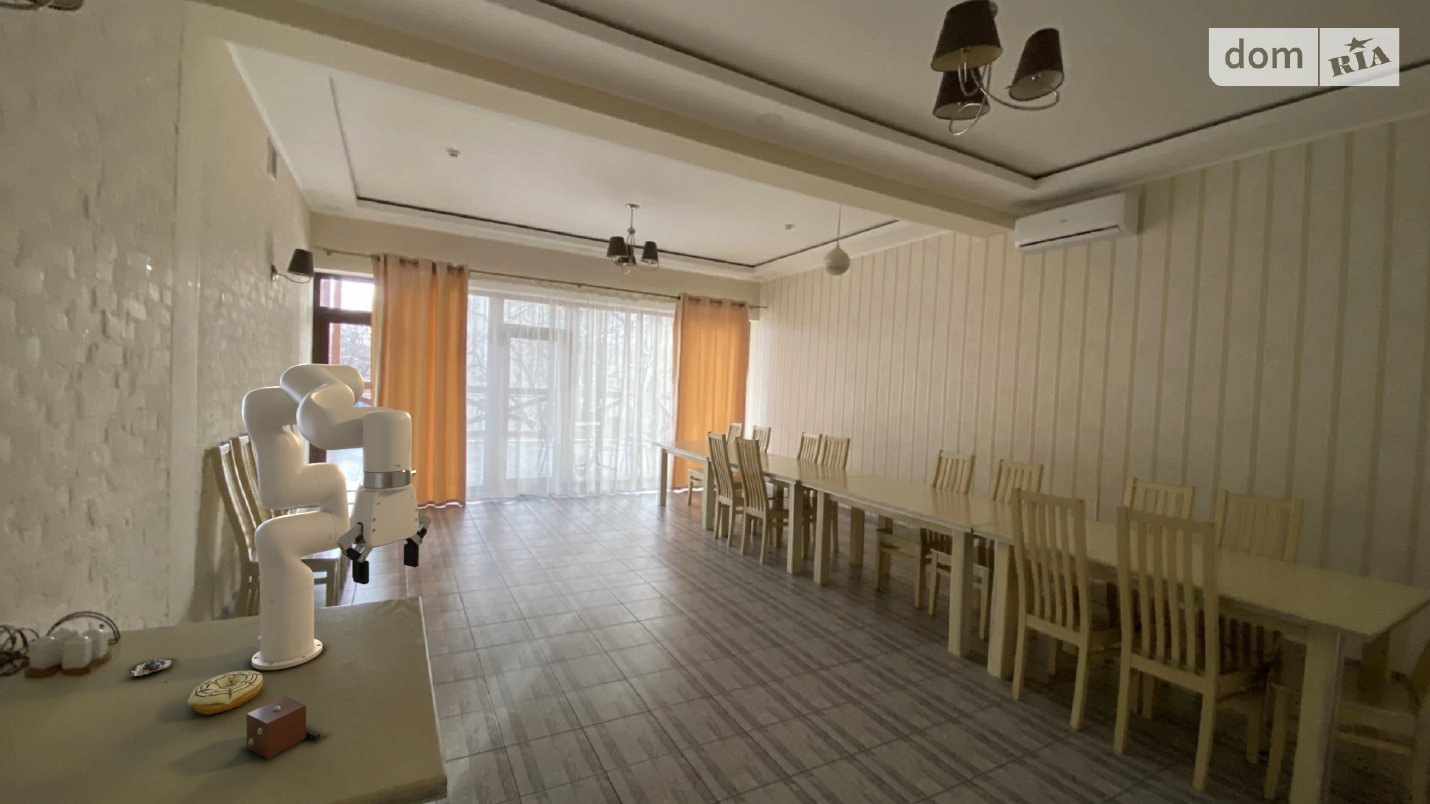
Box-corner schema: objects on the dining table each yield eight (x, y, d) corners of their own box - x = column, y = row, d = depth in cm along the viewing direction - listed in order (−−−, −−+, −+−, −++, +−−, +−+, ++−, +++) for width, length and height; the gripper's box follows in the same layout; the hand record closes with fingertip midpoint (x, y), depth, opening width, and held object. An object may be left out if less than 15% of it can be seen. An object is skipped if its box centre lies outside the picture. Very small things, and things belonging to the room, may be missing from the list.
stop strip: (281, 724, 102) (281, 720, 102) (286, 722, 103) (285, 717, 103) (315, 740, 98) (315, 736, 98) (320, 738, 98) (320, 733, 98)
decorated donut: (173, 717, 103) (172, 697, 103) (220, 685, 114) (220, 667, 113) (233, 716, 104) (233, 696, 103) (275, 684, 114) (274, 666, 114)
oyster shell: (134, 681, 114) (134, 672, 114) (121, 670, 118) (121, 661, 118) (179, 667, 120) (178, 658, 120) (164, 657, 124) (164, 648, 124)
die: (241, 749, 95) (241, 711, 95) (284, 727, 101) (284, 692, 101) (263, 761, 92) (263, 722, 92) (306, 738, 98) (306, 702, 98)
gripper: (415, 470, 110) (414, 557, 111) (323, 485, 94) (324, 586, 95) (443, 474, 107) (442, 563, 108) (354, 490, 91) (353, 594, 92)
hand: (387, 574), depth 101 cm, fingers open, 9 cm apart
